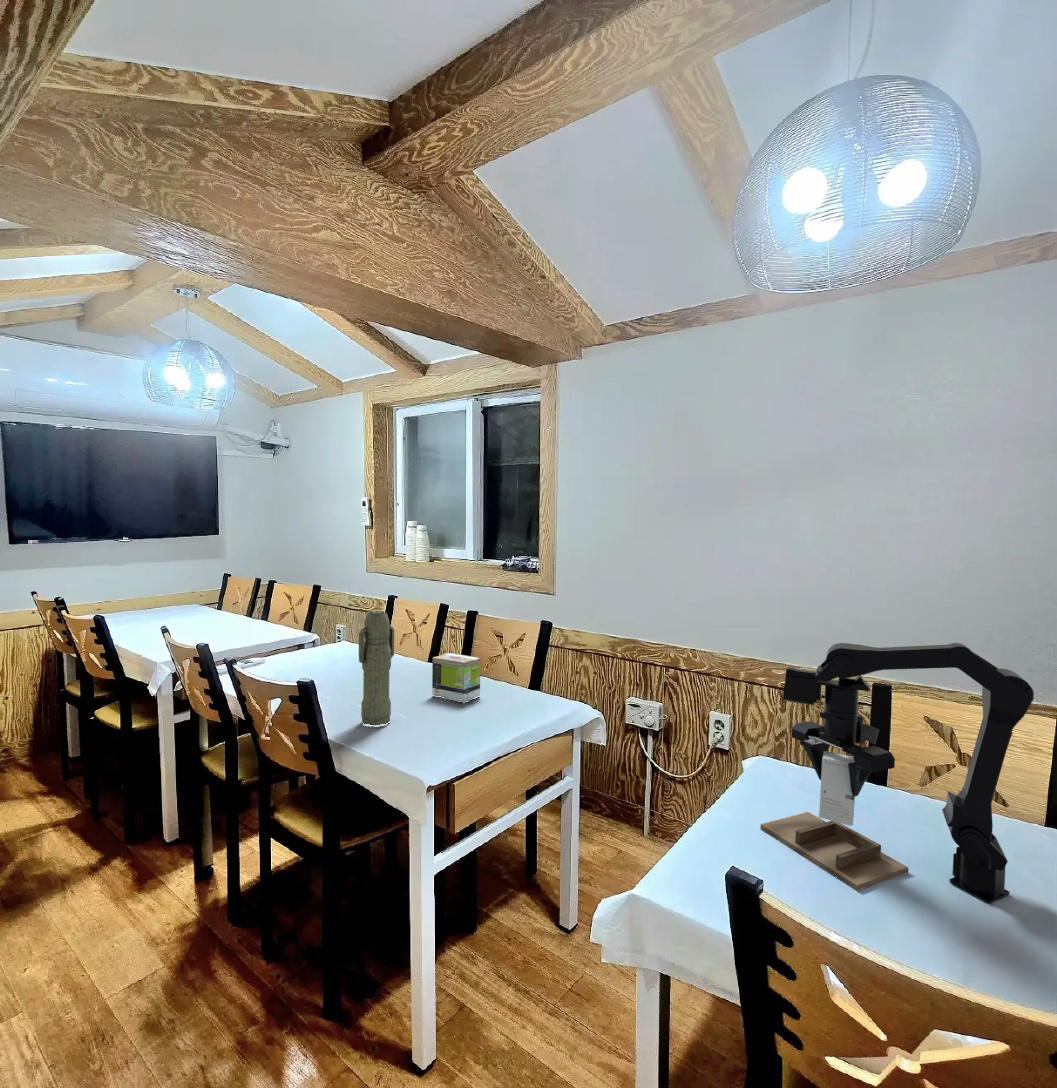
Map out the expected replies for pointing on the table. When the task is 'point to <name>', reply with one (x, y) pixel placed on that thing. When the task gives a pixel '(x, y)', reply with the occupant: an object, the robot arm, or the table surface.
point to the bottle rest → (836, 849)
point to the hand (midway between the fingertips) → (838, 787)
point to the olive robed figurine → (376, 667)
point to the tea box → (456, 677)
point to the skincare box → (836, 789)
